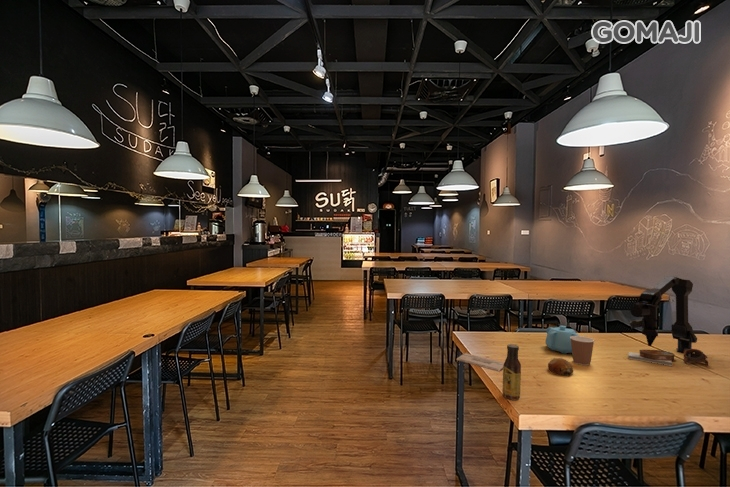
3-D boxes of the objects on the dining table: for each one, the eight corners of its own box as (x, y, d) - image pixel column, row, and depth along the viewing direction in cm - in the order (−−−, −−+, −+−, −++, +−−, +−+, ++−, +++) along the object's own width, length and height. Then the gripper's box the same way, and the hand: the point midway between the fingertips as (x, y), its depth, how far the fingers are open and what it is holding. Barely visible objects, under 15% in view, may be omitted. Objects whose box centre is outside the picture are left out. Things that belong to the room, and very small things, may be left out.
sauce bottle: (499, 393, 135) (500, 342, 135) (514, 393, 135) (515, 342, 135) (507, 401, 128) (508, 348, 128) (524, 401, 129) (524, 347, 129)
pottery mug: (716, 368, 166) (711, 354, 164) (695, 375, 167) (691, 362, 166) (694, 354, 178) (690, 341, 176) (675, 361, 179) (670, 348, 177)
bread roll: (571, 379, 160) (569, 360, 163) (576, 376, 151) (574, 357, 154) (547, 376, 163) (546, 358, 166) (550, 373, 154) (549, 355, 157)
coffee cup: (592, 361, 173) (592, 337, 173) (596, 368, 164) (596, 342, 164) (568, 358, 177) (568, 334, 177) (570, 364, 168) (571, 339, 168)
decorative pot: (545, 352, 187) (545, 327, 187) (545, 344, 201) (546, 321, 201) (580, 357, 179) (581, 331, 179) (578, 349, 193) (579, 324, 193)
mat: (629, 352, 187) (629, 350, 187) (671, 359, 176) (671, 356, 176) (628, 358, 178) (628, 355, 178) (672, 366, 167) (672, 363, 167)
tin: (666, 350, 182) (679, 354, 174) (666, 356, 182) (679, 360, 173) (635, 349, 183) (646, 353, 175) (635, 355, 183) (647, 359, 175)
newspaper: (510, 366, 167) (510, 361, 167) (499, 375, 158) (499, 370, 158) (466, 355, 183) (466, 350, 182) (455, 362, 174) (454, 358, 174)
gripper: (631, 311, 194) (630, 339, 194) (629, 316, 179) (629, 346, 179) (657, 314, 187) (656, 343, 187) (658, 319, 172) (657, 351, 172)
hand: (649, 345), depth 181 cm, fingers closed
